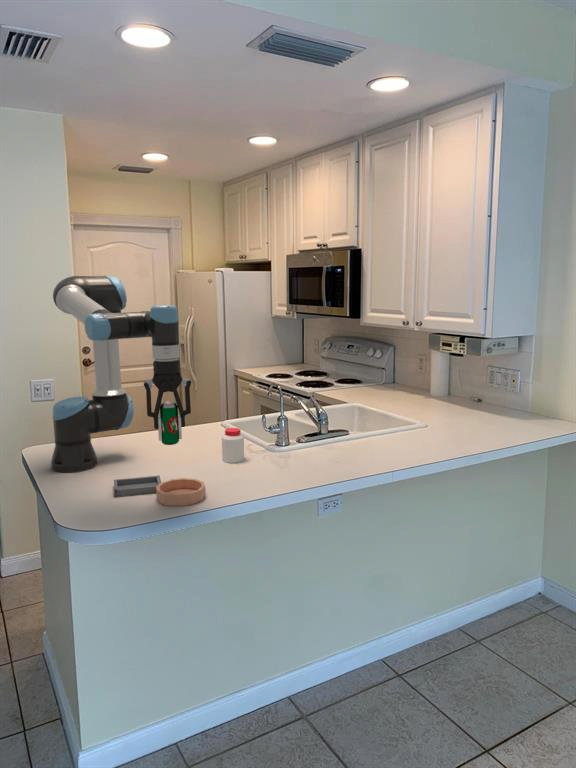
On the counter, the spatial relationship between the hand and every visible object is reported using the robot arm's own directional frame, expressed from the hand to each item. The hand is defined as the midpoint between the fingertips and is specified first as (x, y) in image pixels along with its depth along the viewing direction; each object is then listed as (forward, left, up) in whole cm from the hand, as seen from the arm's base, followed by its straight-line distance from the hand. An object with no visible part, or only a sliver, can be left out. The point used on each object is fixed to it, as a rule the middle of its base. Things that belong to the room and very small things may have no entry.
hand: (170, 438), depth 174 cm
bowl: (+2, -1, -18) cm, 18 cm away
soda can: (0, 0, -2) cm, 2 cm away
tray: (-10, +10, -18) cm, 22 cm away
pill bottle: (+24, +31, -18) cm, 43 cm away
